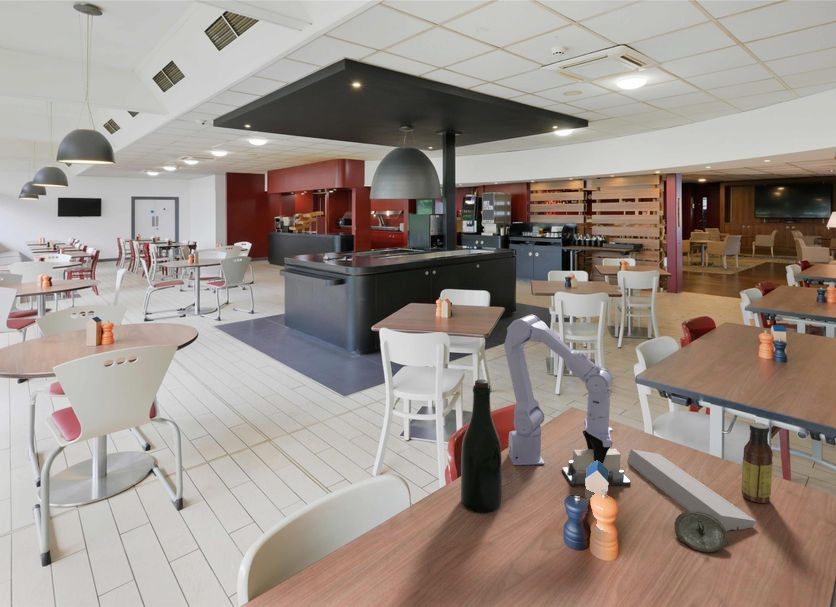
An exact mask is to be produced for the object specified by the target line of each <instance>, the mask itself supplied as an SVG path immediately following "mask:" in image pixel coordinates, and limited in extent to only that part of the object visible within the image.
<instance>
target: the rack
mask: <svg viewBox="0 0 836 607" xmlns="http://www.w3.org/2000/svg"><path fill="white" fill-rule="evenodd" d="M561 472H562V473H563V474H564V476H565V477H566V479H567V481H568V482H569V484H570V485H571V488H585V487H584V486H585V478H586V471H576V470H575V469H574V467H573V460H568V466H565V467H564V466H563V467H561ZM608 482H609V486H608V487H617V486H618V487H619V486H624V487H625V486H631V483H632V481H631V480H630V479H629V478H628V477H627V476H626V475H625V471H624V470H623V469H620V470H612V471H609V475H608Z"/></svg>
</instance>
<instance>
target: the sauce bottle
mask: <svg viewBox="0 0 836 607" xmlns="http://www.w3.org/2000/svg"><path fill="white" fill-rule="evenodd" d="M749 431H750V432H749V440H748V441H747V442H746V444H745V445H744V447H743V456H742V468H741V469H742V470H741V471H742V472H741V494H742V496H743V497H744V499H747V500H748V501H751V502H754V503H758V504H768V503H769V502H770V499H771V495H772V494H771V493H772V481H773V463H774V462H773V455H774V454H773V453H774V452H773V450H772V448H771V446H770V445H769V439H768V438H769V432H770V426H769V425H768V424H765V423H762V422H757V421H756V422H751V423H749Z"/></svg>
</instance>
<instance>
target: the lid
mask: <svg viewBox="0 0 836 607" xmlns="http://www.w3.org/2000/svg"><path fill="white" fill-rule="evenodd" d="M674 533H675V535H676V537H677V539H678V540H679V541H680V542H682V543H683V544H684V545H686V546H687V547H688V548H691V550H692V549H693V550H695V551H698V552H701V553H714V552H717V551H720V550H722V549H724V547H725V546H726V545H727V543H728V541H729V534H728V531H726V529H725V528H724V526H723V525H722V524H721V523H720V522H719V521H718V520H716V519H715V518H714V517H712V516H710V515H708V514H706V513H701V512H696V511H692V512H689V511H685V512H681V513H680V514H678V515H677V517H676V518H675V520H674Z"/></svg>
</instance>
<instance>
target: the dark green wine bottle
mask: <svg viewBox="0 0 836 607" xmlns="http://www.w3.org/2000/svg"><path fill="white" fill-rule="evenodd" d="M491 393H492V389H491V386H490V385H489V381H488V380H487V379H477V380H475V381H474V385H473V386H472V411H471V415H470V420H469V423H468V426H467V429H466V430H465V433H464V435H463V438H462V444H461V460H460V461H461V463H460V465H461V466H460V501H461V504H462V506H463V507H464V509H465V510H467V511H470V512H472V513H476V514H491V513H493V512H496V511H497V510H499V509H500V507H501V505H502V502H503V498H502V497H503V496H502V495H503V494H502V492H503V478H502V477H503V474H502V473H503V472H502V470H503V469H502V465H503V464H502V462H503V460H502V458H503V457H502V446H501V441H500V436H499V433H498V432H497V429H496V427H495V423H494V420H493V416H492V411H491Z"/></svg>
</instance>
